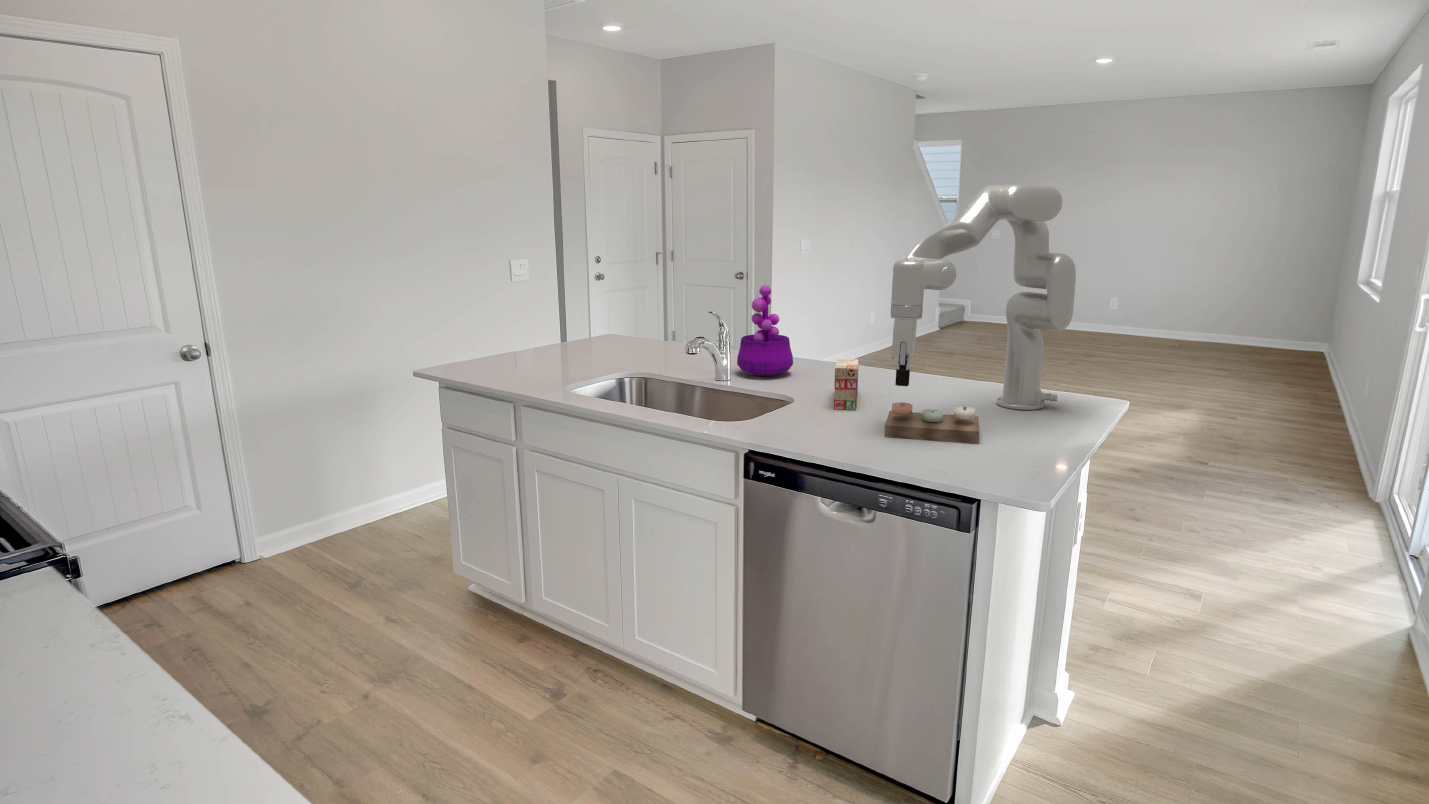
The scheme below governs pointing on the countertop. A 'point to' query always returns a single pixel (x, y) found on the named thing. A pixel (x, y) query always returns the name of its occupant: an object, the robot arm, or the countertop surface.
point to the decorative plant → (765, 342)
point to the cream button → (964, 412)
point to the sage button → (932, 415)
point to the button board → (932, 428)
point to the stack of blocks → (846, 384)
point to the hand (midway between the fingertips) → (902, 385)
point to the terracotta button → (901, 408)
